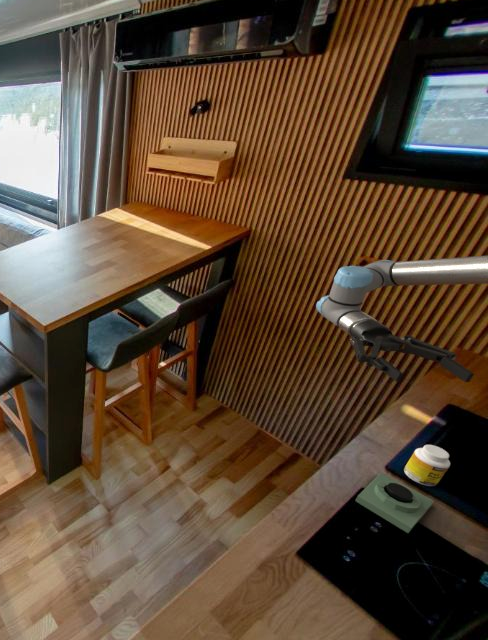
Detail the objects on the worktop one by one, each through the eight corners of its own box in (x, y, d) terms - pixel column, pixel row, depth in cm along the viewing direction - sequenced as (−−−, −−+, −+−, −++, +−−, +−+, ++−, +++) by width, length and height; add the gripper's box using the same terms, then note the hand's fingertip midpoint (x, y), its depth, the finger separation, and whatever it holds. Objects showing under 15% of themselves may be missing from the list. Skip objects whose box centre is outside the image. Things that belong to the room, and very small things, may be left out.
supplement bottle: (421, 488, 91) (439, 462, 87) (396, 469, 96) (411, 443, 92) (444, 485, 91) (462, 459, 86) (417, 466, 96) (433, 440, 91)
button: (389, 484, 90) (392, 479, 89) (413, 497, 87) (416, 493, 86) (381, 492, 89) (384, 488, 88) (405, 506, 85) (408, 501, 85)
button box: (377, 477, 95) (383, 467, 93) (430, 506, 87) (437, 496, 86) (355, 501, 91) (360, 491, 89) (408, 533, 84) (415, 523, 82)
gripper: (412, 338, 107) (492, 389, 88) (311, 340, 113) (367, 388, 95) (422, 317, 104) (508, 366, 85) (318, 320, 110) (377, 366, 91)
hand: (434, 377), depth 90 cm, fingers open, 13 cm apart
